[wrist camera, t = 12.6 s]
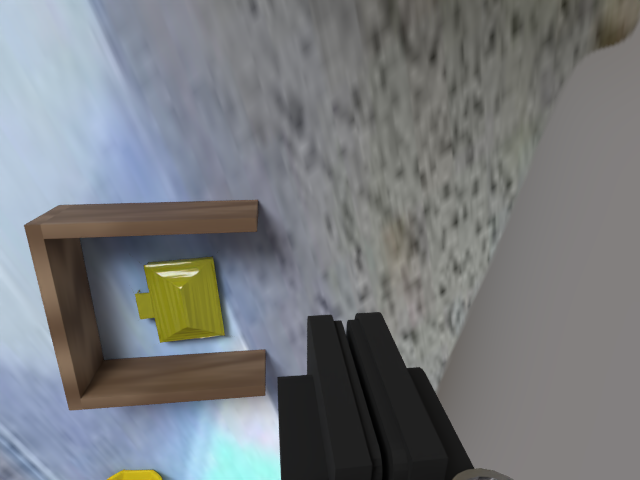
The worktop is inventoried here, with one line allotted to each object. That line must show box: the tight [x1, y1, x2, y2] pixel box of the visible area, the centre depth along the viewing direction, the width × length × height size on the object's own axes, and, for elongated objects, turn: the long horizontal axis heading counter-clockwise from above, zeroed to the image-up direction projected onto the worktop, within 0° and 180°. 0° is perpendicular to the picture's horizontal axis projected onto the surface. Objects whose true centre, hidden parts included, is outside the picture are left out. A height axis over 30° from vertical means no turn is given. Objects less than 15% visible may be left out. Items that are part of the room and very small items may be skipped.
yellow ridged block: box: [129, 252, 233, 343], centre depth 36 cm, size 10×9×3 cm
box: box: [24, 200, 266, 410], centre depth 34 cm, size 15×15×5 cm
